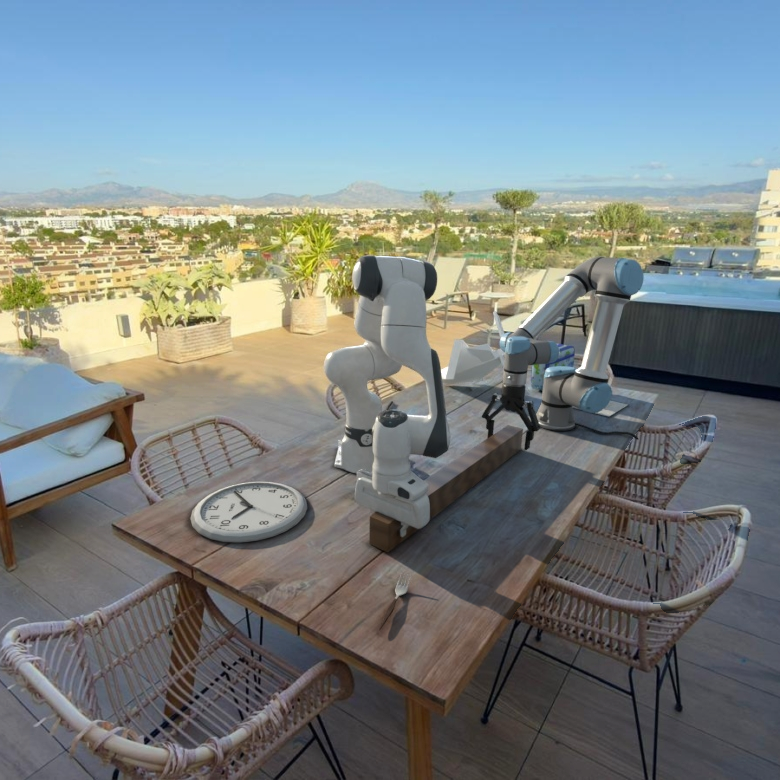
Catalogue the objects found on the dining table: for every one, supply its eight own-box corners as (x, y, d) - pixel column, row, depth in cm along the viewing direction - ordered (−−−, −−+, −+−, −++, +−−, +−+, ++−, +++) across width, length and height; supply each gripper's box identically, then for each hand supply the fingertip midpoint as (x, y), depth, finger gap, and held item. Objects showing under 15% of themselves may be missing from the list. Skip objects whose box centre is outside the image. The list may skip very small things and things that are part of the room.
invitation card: (608, 416, 214) (573, 407, 224) (608, 416, 214) (573, 408, 224) (628, 404, 229) (594, 396, 238) (628, 405, 229) (594, 397, 238)
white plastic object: (461, 429, 252) (437, 405, 227) (444, 352, 274) (420, 323, 250) (535, 404, 240) (518, 377, 215) (510, 326, 262) (492, 293, 237)
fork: (373, 630, 99) (373, 621, 98) (400, 579, 113) (400, 571, 112) (386, 633, 98) (386, 625, 97) (412, 582, 112) (412, 574, 112)
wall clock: (302, 534, 126) (174, 538, 123) (303, 540, 126) (175, 544, 124) (310, 477, 154) (206, 479, 152) (310, 482, 155) (206, 484, 152)
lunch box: (547, 395, 239) (552, 351, 233) (526, 390, 247) (530, 347, 240) (574, 384, 257) (579, 343, 251) (554, 380, 264) (558, 339, 258)
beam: (506, 445, 185) (507, 424, 182) (521, 449, 181) (523, 428, 179) (369, 544, 126) (369, 516, 123) (387, 552, 123) (388, 524, 120)
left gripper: (348, 471, 126) (349, 521, 130) (419, 497, 115) (417, 551, 119) (365, 462, 131) (365, 511, 135) (434, 486, 119) (432, 539, 123)
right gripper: (475, 379, 177) (470, 437, 183) (546, 394, 162) (539, 456, 169) (485, 374, 182) (480, 431, 189) (555, 388, 168) (547, 449, 174)
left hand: (390, 530), depth 127 cm, fingers closed on beam, 5 cm apart
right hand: (508, 443), depth 179 cm, fingers open, 13 cm apart
